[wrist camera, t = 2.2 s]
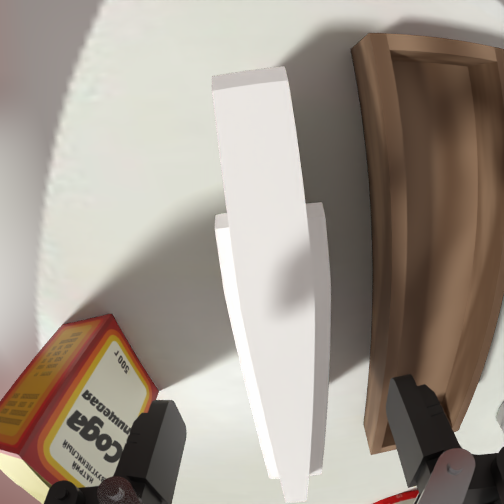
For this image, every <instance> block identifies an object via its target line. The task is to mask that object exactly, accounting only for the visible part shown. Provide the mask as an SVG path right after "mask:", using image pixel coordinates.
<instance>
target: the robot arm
mask: <svg viewBox="0 0 504 504" xmlns="http://www.w3.org/2000/svg"><path fill="white" fill-rule="evenodd" d="M386 415H387V419H388V422H389V425H390V429H391V432H392V435H393V438H394V441H395V445H396V448H397V451H398V455H399V458H400V461H401V465H402V468H403V472H404V475H405V479H406V482H407V486H408V488H409V487H413V486H416V485H417V488H418V491H419V494H418V495H417V497H416V499H415V501H414V503H413V504H504V447H503V448H502V449H501V450H500V451H499V453H494V454H484V455H474V454H471V453H470V452H469V451H467V450H465V449H462V448H461V446H460V445H459V443H458V441H457V439H456V436H455V434H454V432H453V430H452V428H451V425H450V423H449V421H448V419H447V417H446V415H445V414H444V410H443V408H442V406H441V405H440V402H439V400H438V398H437V396H436V394H435V392H434V391H433V390H431V389H430V388H429V387H428V386H427V385H425V384H423V385H420V386H417V385H416V382H415V380H414V378H413V376H412V375H411V374H407V375H402V376H398V377H394V378H391V379H390V383H389V389H388V395H387V401H386ZM496 418H497V421H498V423H499V425H500V427H501V428H502V430H503V432H504V402H503V404H502V405H501V407H500V408H499V410H498V412H497V416H496ZM185 441H186V426H185V423H184V421H183V419H182V417H181V415H180V413H179V411H178V409H177V407H176V405H175V403H174V401H172V400H153V401H152V403H151V405H150V408H149V410H148V413H141V414H140V415H139V416H138V418H137V419H136V420H135V421H134V422H133V425H132V427H131V430H130V435H128V438H127V441H126V442H127V443H125V446H124V449H123V451H122V454H121V457H120V459H119V462H118V465H117V468H116V471H115V473H114V475H113V477H109V478H107V479H105V480H103V481H102V482H101V483H100V485H99V486H93V487H81V488H77V487H76V486H75V485H74V484H73V483H72V482H70V481H66V480H61V481H58V482H56V483H54V484H53V485H52V486H51V487H50V489H49V491H48V493H47V496H46V499H45V501H44V504H172V499H173V495H174V490H175V485H176V481H177V476H178V472H179V467H180V463H181V458H182V454H183V450H184V445H185Z"/></svg>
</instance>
